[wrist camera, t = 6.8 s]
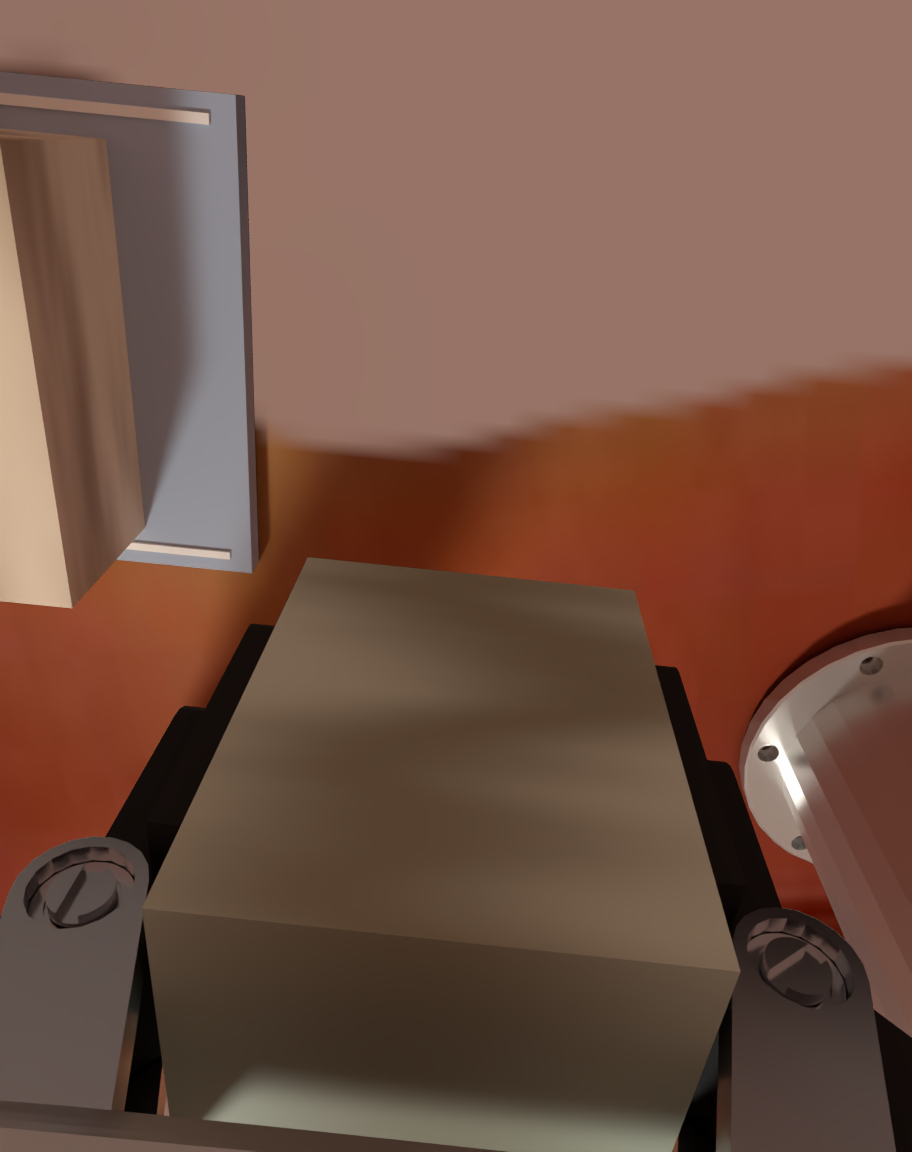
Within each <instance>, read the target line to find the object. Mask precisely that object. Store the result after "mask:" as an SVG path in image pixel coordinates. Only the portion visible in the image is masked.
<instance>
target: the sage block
mask: <svg viewBox="0 0 912 1152" xmlns="http://www.w3.org/2000/svg"><path fill="white" fill-rule="evenodd" d="M142 914H143V922H144V929H145V937H146V944H147V952H148V959H149V967H150V974H151V982H152V989H153V997H154V1004H155V1012H156V1019H157V1026H158V1034H159V1041H160V1049H161V1056H162V1064H163V1071H164V1079H165V1086H166V1094H167V1101H168V1109H169V1116H173V1117H183V1118H193V1119H203V1120H213V1121H222V1122H232V1123H242V1124H252V1125H262V1126H272V1127H282V1128H291V1129H301V1130H310V1131H320V1132H329V1133H338V1134H348V1135H357V1136H367V1137H376V1138H385V1139H395V1140H404V1141H414V1142H423V1143H432V1144H442V1145H451V1146H460V1147H469V1148H479V1149H488V1150H497V1151H506V1152H672V1150H673V1147H674V1145H675V1142H676V1140H677V1137H678V1134H679V1132H680V1129H681V1126H682V1124H683V1121H684V1119H685V1116H686V1113H687V1111H688V1108H689V1106H690V1103H691V1100H692V1098H693V1095H694V1092H695V1090H696V1087H697V1085H698V1082H699V1079H700V1077H701V1074H702V1071H703V1069H704V1066H705V1064H706V1061H707V1058H708V1056H709V1053H710V1051H711V1048H712V1045H713V1043H714V1040H715V1037H716V1035H717V1032H718V1030H719V1027H720V1024H721V1022H722V1019H723V1016H724V1014H725V1011H726V1009H727V1006H728V1003H729V1001H730V998H731V996H732V993H733V990H734V988H735V985H736V982H737V980H738V977H739V975H740V972H741V971H740V968H739V964H738V961H737V957H736V954H735V950H734V946H733V943H732V939H731V936H730V932H729V928H728V925H727V921H726V918H725V914H724V911H723V907H722V903H721V900H720V896H719V893H718V889H717V886H716V882H715V878H714V875H713V871H712V868H711V864H710V861H709V857H708V853H707V850H706V846H705V843H704V839H703V836H702V832H701V828H700V825H699V821H698V818H697V814H696V810H695V807H694V803H693V800H692V796H691V793H690V789H689V785H688V782H687V778H686V775H685V771H684V768H683V764H682V760H681V757H680V753H679V750H678V746H677V743H676V739H675V735H674V732H673V728H672V725H671V721H670V717H669V714H668V710H667V707H666V703H665V700H664V696H663V692H662V689H661V685H660V682H659V678H658V675H657V671H656V667H655V664H654V660H653V657H652V653H651V650H650V646H649V642H648V639H647V635H646V632H645V628H644V625H643V621H642V617H641V614H640V610H639V607H638V603H637V599H636V596H635V592H634V591H633V590H623V589H613V588H603V587H594V586H584V585H574V584H565V583H555V582H545V581H535V580H526V579H516V578H506V577H496V576H487V575H477V574H467V573H458V572H448V571H438V570H428V569H419V568H409V567H399V566H390V565H380V564H370V563H360V562H351V561H341V560H331V559H321V558H312V557H308V558H307V560H306V562H305V564H304V566H303V568H302V570H301V573H300V575H299V577H298V579H297V581H296V583H295V585H294V587H293V590H292V592H291V594H290V596H289V598H288V600H287V602H286V604H285V606H284V609H283V611H282V613H281V615H280V617H279V619H278V621H277V623H276V625H275V628H274V630H273V632H272V634H271V636H270V638H269V640H268V642H267V644H266V647H265V649H264V651H263V653H262V655H261V657H260V659H259V661H258V664H257V666H256V668H255V670H254V672H253V674H252V676H251V678H250V680H249V683H248V685H247V687H246V689H245V691H244V693H243V695H242V697H241V699H240V702H239V704H238V706H237V708H236V710H235V712H234V714H233V716H232V718H231V721H230V723H229V725H228V727H227V729H226V731H225V733H224V735H223V738H222V740H221V742H220V744H219V746H218V748H217V750H216V752H215V754H214V757H213V759H212V761H211V763H210V765H209V767H208V769H207V771H206V773H205V776H204V778H203V780H202V782H201V784H200V786H199V788H198V790H197V792H196V795H195V797H194V799H193V801H192V803H191V805H190V807H189V809H188V811H187V814H186V816H185V818H184V820H183V822H182V824H181V826H180V828H179V831H178V833H177V835H176V837H175V839H174V841H173V843H172V845H171V847H170V850H169V852H168V854H167V856H166V858H165V860H164V862H163V864H162V866H161V869H160V871H159V873H158V875H157V877H156V879H155V881H154V883H153V885H152V888H151V890H150V892H149V894H148V896H147V898H146V900H145V902H144V905H143V907H142Z"/></svg>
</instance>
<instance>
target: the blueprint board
mask: <svg viewBox="0 0 912 1152" xmlns="http://www.w3.org/2000/svg"><path fill="white" fill-rule="evenodd" d="M245 118H246V117H245V96H241V95H232V94H224V93H213V92H203V91H193V90H183V89H173V88H162V87H153V86H141V85H131V84H122V83H112V82H102V81H92V80H82V79H72V78H62V77H52V76H41V75H31V74H21V73H11V72H1V71H0V128H1V129H12V130H22V131H32V132H42V133H52V134H62V135H72V136H82V137H92V138H102V139H106V145H107V155H108V165H109V175H110V185H111V194H112V204H113V214H114V224H115V234H116V244H117V254H118V264H119V273H120V283H121V293H122V303H123V313H124V323H125V333H126V343H127V353H128V362H129V372H130V382H131V392H132V402H133V412H134V422H135V432H136V441H137V451H138V461H139V471H140V481H141V491H142V501H143V511H144V521H145V528H144V530H143V531H142V532H141V533H140V534H139V535H138V536H137V537H136V538H135V539H134V541H133V542H132V543H131V544H130V545H129V546H128V547H127V548H126V549H125V551H124V552H123V553H122V554H121V555H120V556H119V557H118V558H117V559H116V560H126V561H136V562H146V563H156V564H165V565H175V566H185V567H195V568H205V569H215V570H225V571H235V572H245V573H252V572H253V571H254V569H255V567H256V565H257V564H258V562H259V553H258V519H257V486H256V452H255V419H254V385H253V353H252V320H251V287H250V286H251V285H250V252H249V218H248V186H247V153H246V152H247V151H246V119H245Z"/></svg>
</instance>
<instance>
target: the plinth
mask: <svg viewBox="0 0 912 1152" xmlns="http://www.w3.org/2000/svg"><path fill="white" fill-rule="evenodd" d="M144 528H145V521H144V511H143V501H142V491H141V481H140V471H139V461H138V451H137V441H136V432H135V422H134V412H133V402H132V392H131V382H130V372H129V362H128V353H127V343H126V333H125V323H124V313H123V303H122V293H121V283H120V273H119V264H118V254H117V244H116V234H115V224H114V214H113V204H112V194H111V185H110V175H109V165H108V155H107V145H106V139H102V138H92V137H82V136H72V135H62V134H52V133H42V132H32V131H22V130H12V129H1V128H0V601H5V602H15V603H25V604H35V605H45V606H55V607H65V608H73V607H74V606H75V605H76V603H77V602H78V601H79V600H80V599H81V598H82V597H83V596H84V595H85V594H86V592H87V591H88V590H89V589H90V588H91V587H92V586H93V585H94V584H95V583H96V581H97V580H98V579H99V578H100V577H101V576H102V575H103V574H104V573H105V571H106V570H107V569H108V568H109V567H110V566H111V565H112V564H113V563H114V562H115V560H116V559H117V558H118V557H119V556H120V555H121V554H122V553H123V552H124V551H125V549H126V548H127V547H128V546H129V545H130V544H131V543H132V542H133V541H134V539H135V538H136V537H137V536H138V535H139V534H140V533H141V532H142V531H143V530H144Z"/></svg>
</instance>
